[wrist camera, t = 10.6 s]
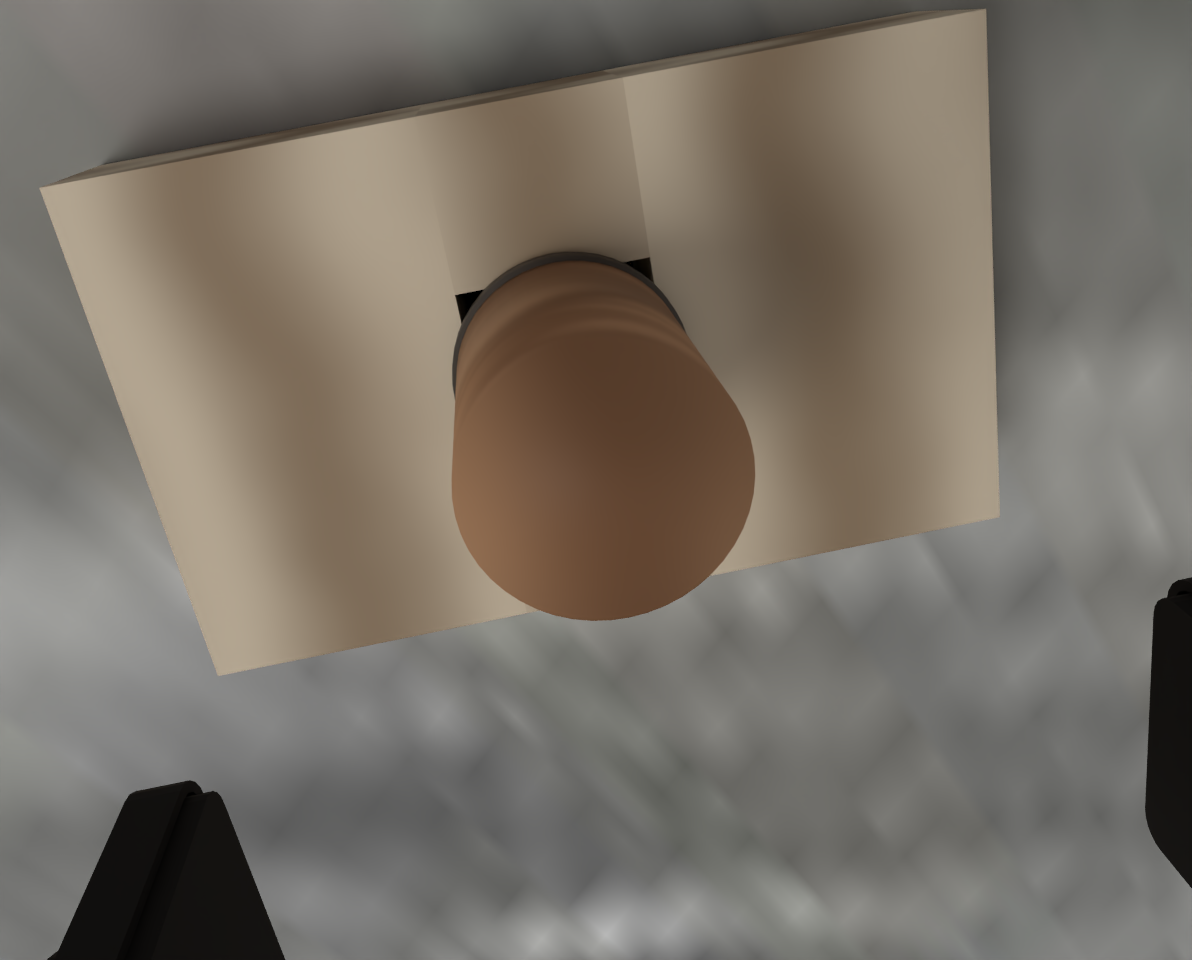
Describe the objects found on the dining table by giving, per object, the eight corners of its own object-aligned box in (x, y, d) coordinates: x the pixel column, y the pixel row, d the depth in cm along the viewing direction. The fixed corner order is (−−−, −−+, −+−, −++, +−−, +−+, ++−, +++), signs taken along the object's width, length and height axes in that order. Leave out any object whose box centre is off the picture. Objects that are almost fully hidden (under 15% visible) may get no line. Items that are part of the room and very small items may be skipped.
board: (915, 11, 27) (985, 8, 23) (938, 459, 31) (999, 517, 28) (100, 165, 26) (39, 188, 22) (248, 598, 31) (218, 675, 27)
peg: (643, 203, 28) (741, 303, 18) (673, 401, 30) (776, 592, 20) (434, 242, 28) (411, 367, 17) (479, 439, 30) (482, 652, 20)
